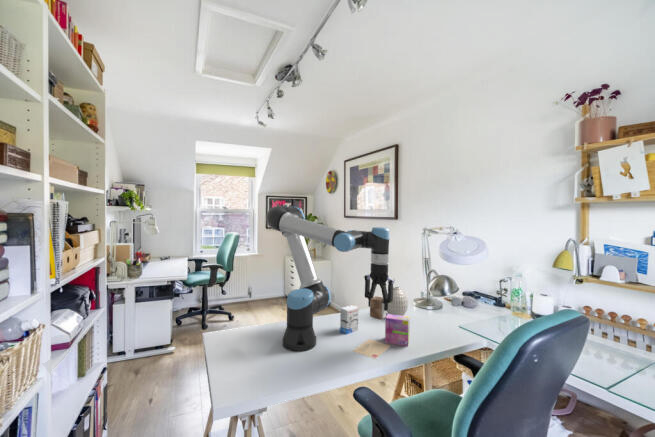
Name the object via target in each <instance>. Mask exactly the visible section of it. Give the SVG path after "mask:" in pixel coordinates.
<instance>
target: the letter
mask: <svg viewBox="0 0 655 437" xmlns="http://www.w3.org/2000/svg"><path fill="white" fill-rule="evenodd" d="M390 347H391V345H389V344H388V343H385V342H384V343H383V342H380V341H377V340H374V339H370V338H368V339H367V340H366V341H365V342H362V344H360V345H359V346H357V347H356V348H355V349H353V350H352V352H354V353H357V354H360V355H363V356H366V357H368V358H370V359H371V358H372V359H373V360H376V359H377V358H379V357H380V356H382V354H384V352H386V351H387V350H388V349H389V348H390Z"/></svg>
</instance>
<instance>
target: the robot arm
mask: <svg viewBox="0 0 655 437" xmlns="http://www.w3.org/2000/svg"><path fill="white" fill-rule="evenodd" d="M265 220H266V225H267V226H268V227H269V228H270V229H272V230H273V231H278V232H280V233H281V235H282V236H283V238H286V240H287V243H288V244H287V245H288V247H289V251H290V253H291V256H292V259H293V263H294V265H295V268H296V272H297V275H298V280H299V281H300V286H299V288H297V289H293V290H291V291H290V292H288V294H287V299H286V328H285V329H284V333H283V337H282V346H283V348H285V349H286V350H288V351H292V352H293V351H294V352H305V351H308V350H312V349H314V348H315V347H316V346H317V336H316V334H315V330H314V315H316V314H318V312H321V311H323V310H324V309H326V308H327V307H328V306H329V304H330V303H331V298H332V294H331V291H330V289H329V288H328V286H326V285H324V283H323V280H322V279H320V278H318V275H317V271H316V269H315V266H314V263H313V259H312V256H311V254H310V250H309V248H308V244H307V241H306V239H308V240H312V241H314V242H318V243H321V244H324V245H328V246H329V247H330V246H331V247H334V248H335V249H336V250H337V251H338V252H342V253H345V252H346V253H348V252H350V251H353V250H356V249H370V272H369V274H366V275H364V276H363V278H364V298H365V299H368V305H367V306H368V307H369V308H370V301H371V298H373V297H375V292H376V289H377V286H379V287H380V288H381V289H380V290H381V294H382V298H383V300H384V302H383V303H382V319H386V316H387V310H388V303H390V302H392V301H393V287H394V283H395V279H394V278H391V277H389V274H388V273H389V264H388V263H389V252H390V251H389V250H390V249H389V248H390V230H389V228H388V227H381V226H380V227H377V226H376V227H371V228H372V229H371V231H365V230H356V229H355V230H347V231H345V230H342V229H341V230H340V229H338V228H334V227H331V226H328V225H325V224H321V223H318V222H315V221H311V220H309V219H306V217H305V214H304V212H303V210H302V209H301V208H299V207H297V206H293V205H288V206H287V205H286V206H285V205H277V206H272V207H271V208H270V209H269V210H268V211H267V213H266V216H265ZM371 280H372V282H371ZM387 283H388V285H387Z"/></svg>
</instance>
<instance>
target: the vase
mask: <svg viewBox="0 0 655 437" xmlns="http://www.w3.org/2000/svg"><path fill="white" fill-rule="evenodd" d="M408 307H409V301H408V298H407V295H406V294H405V292H404V291H403V289H401V287H400V286H393V301H392V302H390V303H388V310H387V311H386V313H387V314H392V315H400V316H405V314H406V313H407V311H408Z"/></svg>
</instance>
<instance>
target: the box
mask: <svg viewBox="0 0 655 437" xmlns="http://www.w3.org/2000/svg"><path fill="white" fill-rule="evenodd" d="M384 319H385V321H384V322H385V324H384V325H385V327H384V328H385V331H384V343H385V344H393V345H399V346H405V347H409V343H410V331H411V330H410V327H411V326H410V325H411V324H410V321H411V316H406V315H403V316H400V315H392V314H388V313H386V317H385V318H384Z"/></svg>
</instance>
